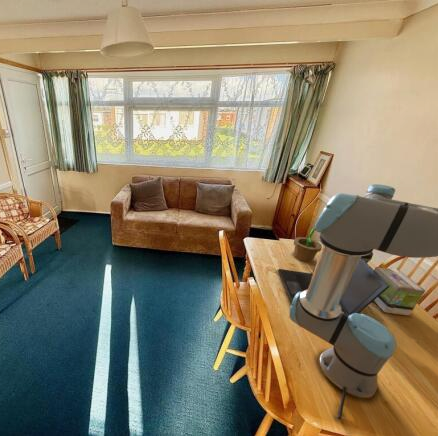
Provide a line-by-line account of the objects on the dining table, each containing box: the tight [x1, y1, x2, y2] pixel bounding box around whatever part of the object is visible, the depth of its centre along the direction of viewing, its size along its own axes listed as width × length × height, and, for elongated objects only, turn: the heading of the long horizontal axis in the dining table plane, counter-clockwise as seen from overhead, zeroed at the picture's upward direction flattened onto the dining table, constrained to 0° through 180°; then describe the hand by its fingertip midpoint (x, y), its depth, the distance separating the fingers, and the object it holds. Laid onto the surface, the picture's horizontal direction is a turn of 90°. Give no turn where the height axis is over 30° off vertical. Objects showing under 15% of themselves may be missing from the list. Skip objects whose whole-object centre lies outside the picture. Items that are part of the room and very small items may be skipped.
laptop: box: [277, 268, 346, 313], centre depth 114 cm, size 21×30×2 cm
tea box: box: [373, 266, 426, 316], centre depth 106 cm, size 15×10×15 cm
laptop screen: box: [339, 258, 390, 315], centre depth 106 cm, size 21×30×1 cm
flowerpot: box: [293, 228, 323, 263], centre depth 135 cm, size 14×14×30 cm
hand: (345, 268), depth 104 cm, fingers closed
